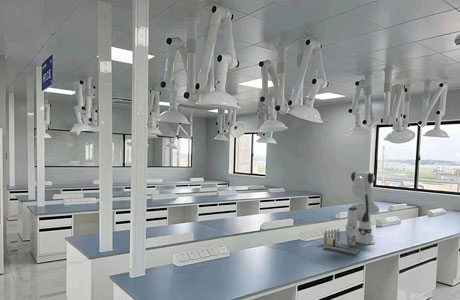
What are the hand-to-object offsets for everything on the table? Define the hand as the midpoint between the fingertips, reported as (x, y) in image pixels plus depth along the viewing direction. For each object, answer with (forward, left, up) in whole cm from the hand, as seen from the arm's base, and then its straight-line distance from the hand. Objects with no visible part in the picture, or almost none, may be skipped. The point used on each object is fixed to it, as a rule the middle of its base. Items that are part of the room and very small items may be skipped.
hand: (352, 240), depth 288 cm
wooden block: (0, 0, -4) cm, 4 cm away
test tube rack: (-7, -22, -9) cm, 24 cm away
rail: (+11, -6, -8) cm, 15 cm away
